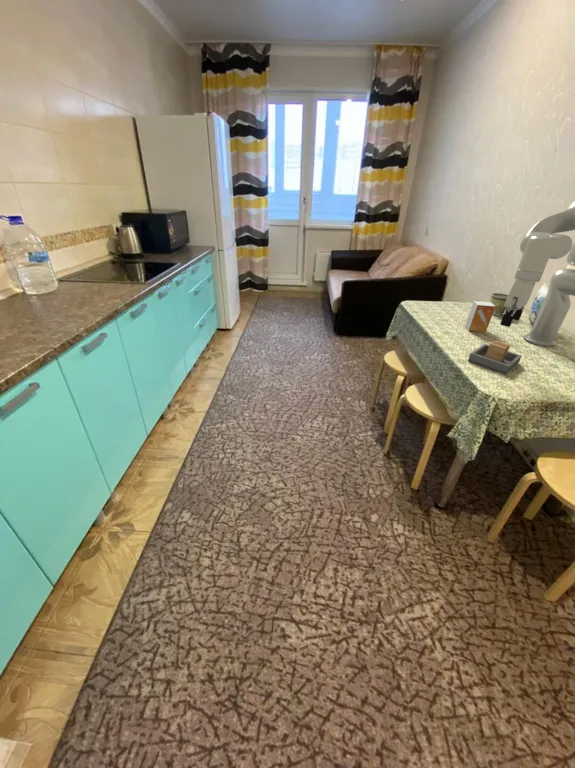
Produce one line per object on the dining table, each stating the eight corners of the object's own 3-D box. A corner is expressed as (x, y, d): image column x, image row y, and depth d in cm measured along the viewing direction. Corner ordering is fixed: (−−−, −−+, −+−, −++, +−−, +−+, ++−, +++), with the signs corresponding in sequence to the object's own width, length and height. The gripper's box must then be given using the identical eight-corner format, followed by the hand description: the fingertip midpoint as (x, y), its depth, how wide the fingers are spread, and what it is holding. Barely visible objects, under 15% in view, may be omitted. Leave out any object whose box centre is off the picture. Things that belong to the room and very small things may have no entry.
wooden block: (489, 356, 133) (495, 340, 129) (503, 360, 129) (510, 344, 126) (483, 360, 130) (490, 343, 126) (498, 365, 126) (505, 348, 123)
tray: (481, 351, 138) (484, 343, 136) (518, 363, 130) (521, 355, 128) (467, 361, 130) (470, 353, 128) (505, 374, 121) (509, 366, 120)
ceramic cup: (481, 311, 183) (487, 294, 178) (492, 309, 187) (499, 292, 182) (503, 319, 173) (511, 301, 168) (515, 316, 178) (522, 298, 172)
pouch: (539, 323, 171) (557, 284, 160) (546, 335, 156) (566, 294, 145) (522, 320, 173) (538, 282, 163) (526, 332, 159) (545, 291, 148)
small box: (468, 331, 158) (477, 304, 151) (464, 326, 163) (473, 300, 156) (486, 332, 157) (496, 306, 150) (481, 327, 162) (491, 302, 155)
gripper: (524, 269, 120) (506, 314, 129) (507, 277, 110) (489, 325, 119) (548, 273, 115) (528, 319, 124) (533, 281, 105) (512, 331, 114)
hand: (509, 322), depth 121 cm, fingers open, 9 cm apart
